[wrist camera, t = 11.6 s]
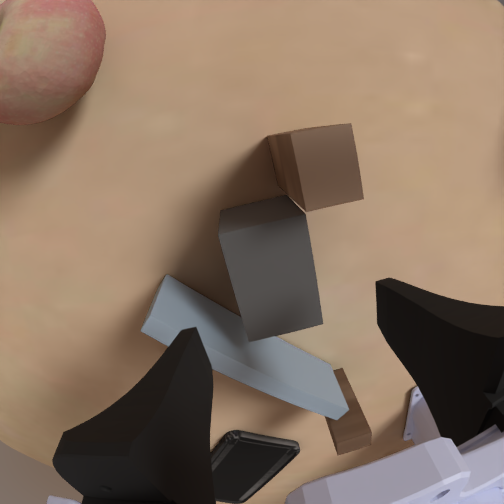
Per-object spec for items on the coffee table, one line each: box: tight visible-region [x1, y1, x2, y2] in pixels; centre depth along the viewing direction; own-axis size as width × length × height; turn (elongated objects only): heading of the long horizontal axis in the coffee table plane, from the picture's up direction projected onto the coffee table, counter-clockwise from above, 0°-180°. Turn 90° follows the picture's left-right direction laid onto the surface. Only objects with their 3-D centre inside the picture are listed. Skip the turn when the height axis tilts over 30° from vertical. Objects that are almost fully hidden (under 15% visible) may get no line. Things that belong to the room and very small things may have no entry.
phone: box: [211, 430, 300, 504], centre depth 28 cm, size 8×1×15 cm
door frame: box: [267, 123, 372, 455], centre depth 18 cm, size 20×2×7 cm, turn 13°
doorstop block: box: [218, 195, 323, 342], centre depth 18 cm, size 6×4×5 cm, turn 13°
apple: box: [0, 0, 106, 125], centre depth 11 cm, size 8×8×8 cm
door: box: [141, 274, 349, 420], centre depth 19 cm, size 14×2×5 cm, turn 55°
